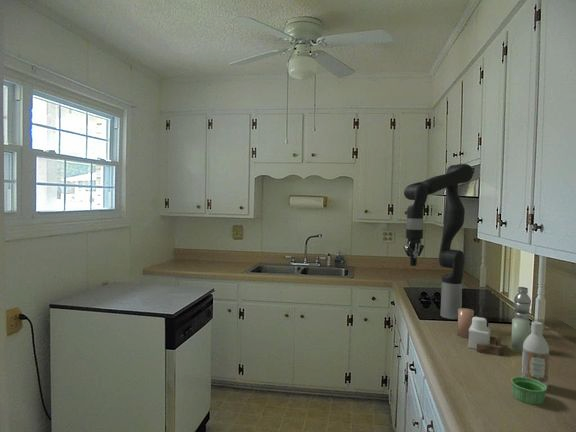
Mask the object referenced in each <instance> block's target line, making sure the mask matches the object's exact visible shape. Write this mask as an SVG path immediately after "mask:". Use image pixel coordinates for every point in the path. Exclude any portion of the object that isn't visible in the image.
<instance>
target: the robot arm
mask: <svg viewBox="0 0 576 432" xmlns="http://www.w3.org/2000/svg"><path fill="white" fill-rule="evenodd" d="M473 176H474V170H473V167H472V166H471V165H469V164H468V163H460V164H452V165H449V166H448V167H447V169H446V173H444V174H441V175H436V176H432V177H430V178H427V179H425V180H423V181H418V182H415V183H411V184H409V185H407V186H406V187H405V188H404V190H403V195H404V198H406V199H407V200H409V201H414V202H413V204H411V205H408V206H407V210H406V224H405V225H406V226H405V238H406V239H407V243H406V245H404V246H403V249H404V251H405V254H406V256H407V257H409V258H410V262H409V264H410V266H412V267H416V266H417V263H418V262H417V261H418V259H417V258H418V257H421V254H422V252H423V250H424V248H425V245H423V244H422V239H424V210H425V209H424V208H425V206H426V203H427V199H428V196H429V195H433V194H434V193H437V192H439V191H441V190H444V189H445V205H444V206H445V207H444V215H443V228H442V237H441V241H440V247H439V253H438V262H439V263H438V264H439V266H441V267H442V268H448V269H452V272H451V273H448V274H443V275H442V276H441V293H440V294H441V295H440V317H442V318H445V319H447V320H458V309H459V308H463V307H462V304H463V303H462V302H463V299H462V298H463V297H462V293H463V292H462V291H463V290H462V288H463V278H464V271H465V270H464V269H465V268H464V267H465V254H464V252H463V251H462V250H458V249H451V248H452V241H453V240H454V238H455V236H456V235H457V234H458V233H459V231H460V230H461V229H462V227H463V226H464V224H465V223H464V222H465V215H466V214H465V213H466V212H465V211H466V210H465V206H464V205H463V203H462V200H461V198H460V196H459V191H458V189H459V184H464V183H468V182H470V181H471V180H472V178H473Z"/></svg>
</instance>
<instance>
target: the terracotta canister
mask: <svg viewBox="0 0 576 432" xmlns="http://www.w3.org/2000/svg"><path fill="white" fill-rule="evenodd" d="M474 313H475V310H474V309H471V308H465V307H461V308H459V309H458V319H457V333H456V334H457V336H458V337H461V338H464V339H468V332H469V328H470V326H471V318H472V316H475V315H474Z"/></svg>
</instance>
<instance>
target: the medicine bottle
mask: <svg viewBox="0 0 576 432" xmlns="http://www.w3.org/2000/svg"><path fill="white" fill-rule="evenodd" d="M489 320H490V319H489V318H487V317H486V316H484V315H477V314H475V315H474V316H472V318H471V326H470V328H469V332H468V338H467V348H468V349H473V350H477V343H480V344H487V345H491V344H490V335H491V328H489Z"/></svg>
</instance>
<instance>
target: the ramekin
mask: <svg viewBox="0 0 576 432" xmlns="http://www.w3.org/2000/svg"><path fill="white" fill-rule="evenodd" d="M510 379H511V380H510V382H511V393H512V396H513V397H514V398H515V399H516V400H518V401H520V402H522V403H524V404H527V405H535V406H536V405H537V406H538V405H542V404H544V403H545V398H546V393H547V391H548V386H547V387H546V386H545V385H544V384H543V383H541V382H540V381H537V380H535V379H531V378H526V377H522V376H514V377H512V378H510Z"/></svg>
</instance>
